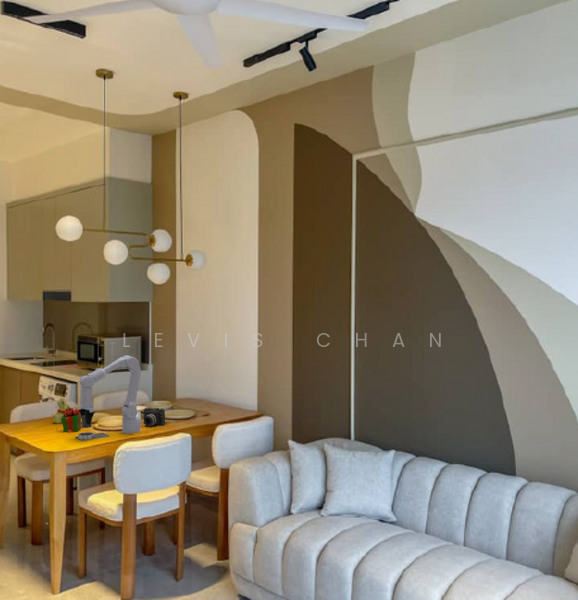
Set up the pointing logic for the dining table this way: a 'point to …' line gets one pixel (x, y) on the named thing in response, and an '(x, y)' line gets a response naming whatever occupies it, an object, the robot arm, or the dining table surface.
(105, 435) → the lens mount
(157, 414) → the camera
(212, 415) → the dining table surface
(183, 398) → the dining table surface
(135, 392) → the robot arm
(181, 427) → the dining table surface
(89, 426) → the dark grey block
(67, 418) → the gift wrap
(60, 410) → the chocolate bunny
